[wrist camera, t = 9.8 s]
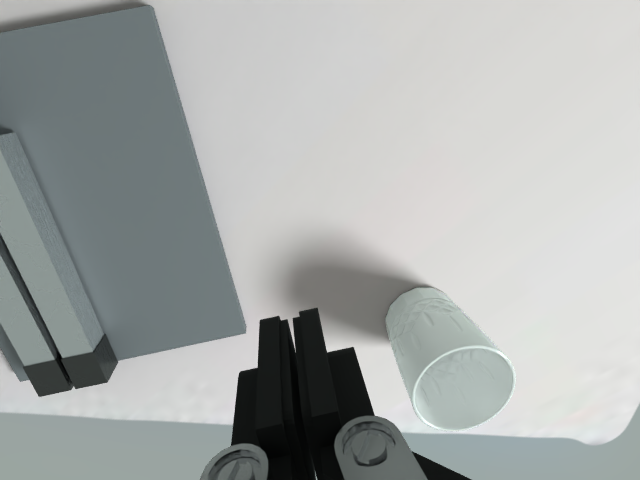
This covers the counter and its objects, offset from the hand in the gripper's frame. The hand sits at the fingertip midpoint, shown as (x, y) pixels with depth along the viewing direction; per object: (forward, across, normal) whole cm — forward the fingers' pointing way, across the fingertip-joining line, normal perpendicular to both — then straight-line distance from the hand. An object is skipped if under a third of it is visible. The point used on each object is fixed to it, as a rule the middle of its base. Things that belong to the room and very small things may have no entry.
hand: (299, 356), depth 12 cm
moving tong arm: (+22, +20, 0) cm, 29 cm away
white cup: (+23, -10, +16) cm, 30 cm away
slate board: (+23, +16, 0) cm, 28 cm away
